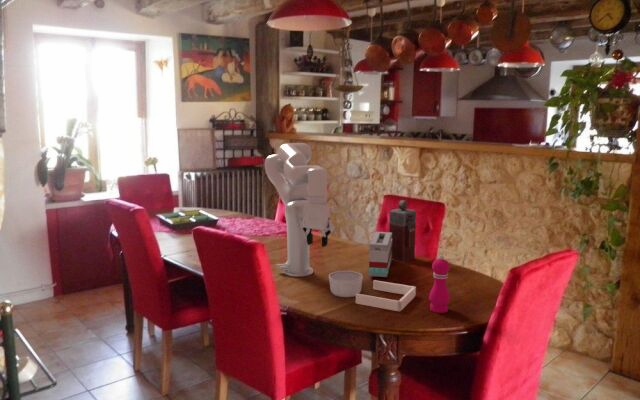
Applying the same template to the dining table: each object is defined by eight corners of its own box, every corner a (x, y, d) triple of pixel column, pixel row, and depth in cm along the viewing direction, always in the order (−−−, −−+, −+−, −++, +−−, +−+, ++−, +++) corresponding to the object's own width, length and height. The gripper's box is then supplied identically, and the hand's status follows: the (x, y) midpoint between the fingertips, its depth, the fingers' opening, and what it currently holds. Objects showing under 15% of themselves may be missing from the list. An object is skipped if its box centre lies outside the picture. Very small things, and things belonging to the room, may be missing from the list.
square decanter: (407, 263, 240) (409, 203, 235) (388, 258, 248) (389, 200, 243) (418, 259, 246) (420, 201, 241) (399, 254, 254) (401, 198, 249)
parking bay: (355, 303, 191) (355, 294, 190) (374, 288, 207) (374, 280, 206) (400, 311, 183) (400, 302, 183) (415, 295, 199) (416, 286, 198)
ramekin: (328, 286, 209) (328, 270, 208) (361, 287, 209) (362, 270, 207) (328, 298, 196) (328, 280, 195) (363, 299, 196) (363, 281, 194)
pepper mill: (426, 306, 188) (428, 252, 185) (445, 305, 189) (448, 252, 185) (432, 313, 181) (434, 258, 178) (452, 313, 182) (455, 257, 178)
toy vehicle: (392, 259, 246) (393, 228, 244) (387, 280, 217) (388, 245, 214) (375, 258, 248) (375, 227, 245) (368, 278, 219) (368, 244, 216)
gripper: (293, 199, 202) (293, 244, 206) (332, 203, 195) (332, 250, 198) (302, 196, 209) (302, 240, 212) (341, 200, 201) (341, 245, 204)
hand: (317, 244), depth 205 cm, fingers open, 5 cm apart
